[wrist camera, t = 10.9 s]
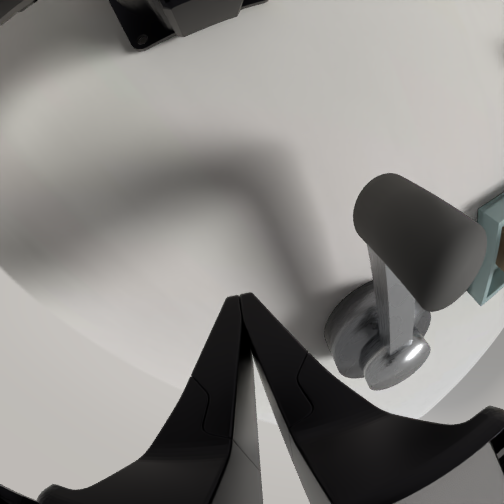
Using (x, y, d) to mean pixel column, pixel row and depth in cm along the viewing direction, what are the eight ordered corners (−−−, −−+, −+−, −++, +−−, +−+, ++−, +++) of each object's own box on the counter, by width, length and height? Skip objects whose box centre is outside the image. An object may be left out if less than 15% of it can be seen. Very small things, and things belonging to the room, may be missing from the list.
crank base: (309, 298, 17) (324, 331, 15) (430, 237, 16) (456, 259, 14) (333, 362, 22) (345, 389, 19) (426, 313, 21) (442, 335, 18)
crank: (415, 348, 18) (444, 397, 13) (361, 377, 18) (385, 431, 14) (411, 150, 9) (507, 196, 5) (310, 191, 10) (385, 271, 5)
